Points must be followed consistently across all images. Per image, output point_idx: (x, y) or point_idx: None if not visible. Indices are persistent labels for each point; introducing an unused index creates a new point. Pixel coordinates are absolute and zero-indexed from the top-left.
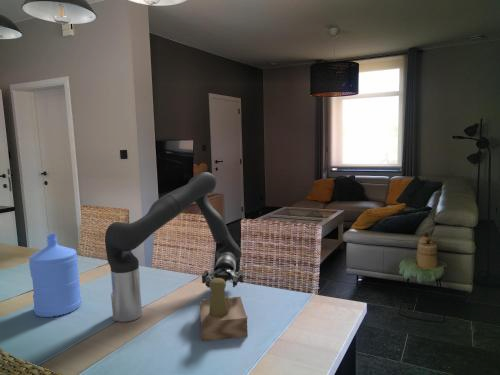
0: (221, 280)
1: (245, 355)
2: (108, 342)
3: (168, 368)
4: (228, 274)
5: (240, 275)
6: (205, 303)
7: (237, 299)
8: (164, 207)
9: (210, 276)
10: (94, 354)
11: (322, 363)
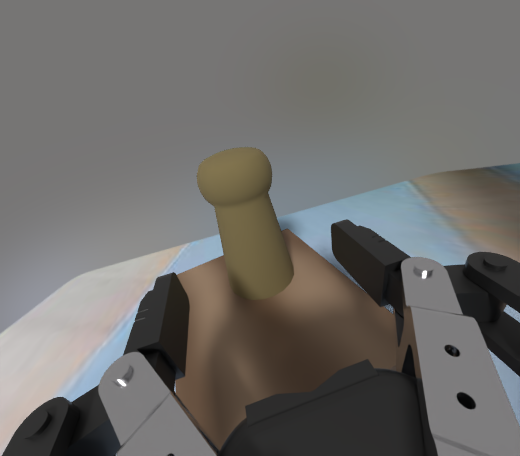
0: (209, 157)
1: (195, 263)
2: (480, 207)
3: (302, 212)
4: (230, 445)
5: (56, 409)
6: (360, 316)
7: (204, 428)
8: None
9: (403, 275)
10: (446, 191)
11: (71, 285)
